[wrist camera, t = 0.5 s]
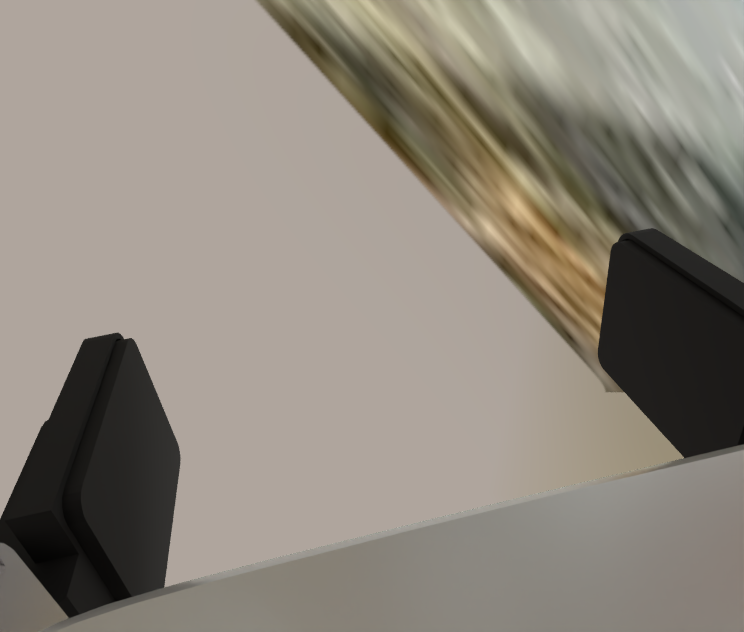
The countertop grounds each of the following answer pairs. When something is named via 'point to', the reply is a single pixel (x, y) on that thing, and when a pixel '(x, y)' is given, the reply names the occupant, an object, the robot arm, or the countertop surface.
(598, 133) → the countertop surface
